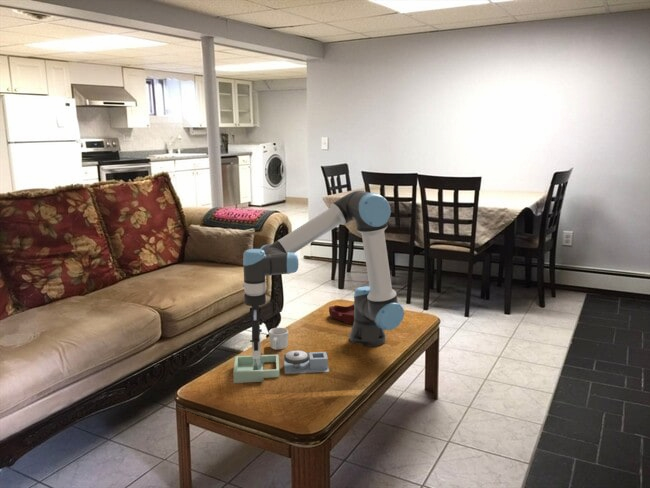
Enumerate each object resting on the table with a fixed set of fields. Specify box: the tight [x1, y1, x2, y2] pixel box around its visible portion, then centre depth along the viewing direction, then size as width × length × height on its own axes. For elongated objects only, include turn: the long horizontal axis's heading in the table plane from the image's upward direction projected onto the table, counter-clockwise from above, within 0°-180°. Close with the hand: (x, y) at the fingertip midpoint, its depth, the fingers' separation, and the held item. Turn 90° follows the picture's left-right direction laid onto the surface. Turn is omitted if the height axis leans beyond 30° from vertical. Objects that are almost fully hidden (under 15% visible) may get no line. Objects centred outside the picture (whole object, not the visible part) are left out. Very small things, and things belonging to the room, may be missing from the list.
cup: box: [268, 327, 289, 350], centre depth 216 cm, size 11×8×8 cm
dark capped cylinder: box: [253, 331, 262, 370], centre depth 195 cm, size 3×3×15 cm
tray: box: [232, 354, 280, 384], centre depth 196 cm, size 16×14×4 cm
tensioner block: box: [283, 350, 330, 375], centre depth 199 cm, size 16×11×7 cm
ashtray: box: [328, 303, 354, 325], centre depth 253 cm, size 18×16×5 cm
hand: (256, 353), depth 195 cm, fingers open, 7 cm apart
